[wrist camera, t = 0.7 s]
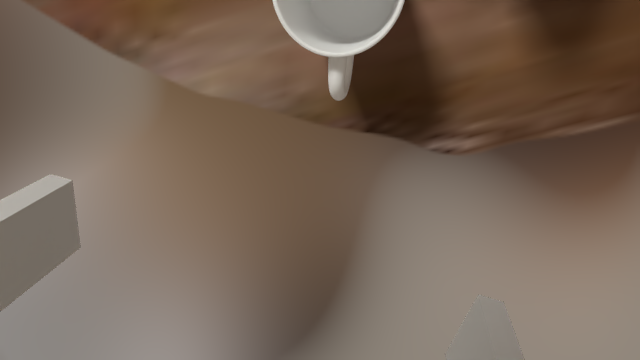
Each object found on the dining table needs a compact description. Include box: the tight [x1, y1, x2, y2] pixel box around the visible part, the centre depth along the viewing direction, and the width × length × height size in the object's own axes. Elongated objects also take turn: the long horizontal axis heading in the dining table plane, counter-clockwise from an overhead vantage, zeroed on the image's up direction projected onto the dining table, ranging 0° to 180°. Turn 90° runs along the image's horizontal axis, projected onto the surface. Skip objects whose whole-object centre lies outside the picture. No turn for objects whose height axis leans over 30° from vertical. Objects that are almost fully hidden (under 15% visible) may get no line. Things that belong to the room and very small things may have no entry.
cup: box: [273, 0, 405, 101], centre depth 28 cm, size 8×12×10 cm
